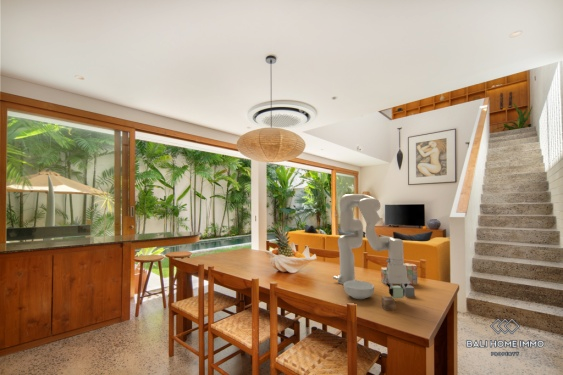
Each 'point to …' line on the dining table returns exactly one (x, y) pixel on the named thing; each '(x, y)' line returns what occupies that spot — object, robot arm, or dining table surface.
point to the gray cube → (409, 291)
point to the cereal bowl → (358, 289)
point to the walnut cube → (388, 303)
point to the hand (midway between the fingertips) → (396, 295)
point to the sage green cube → (397, 292)
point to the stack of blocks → (411, 273)
